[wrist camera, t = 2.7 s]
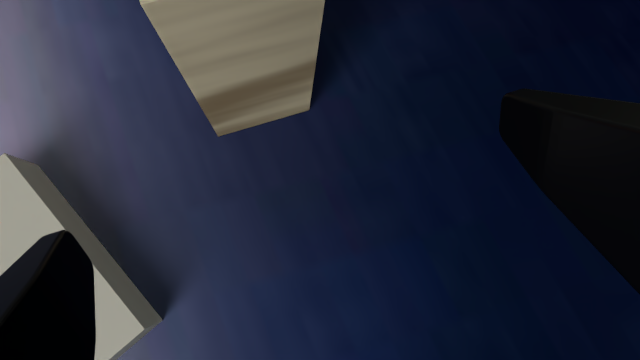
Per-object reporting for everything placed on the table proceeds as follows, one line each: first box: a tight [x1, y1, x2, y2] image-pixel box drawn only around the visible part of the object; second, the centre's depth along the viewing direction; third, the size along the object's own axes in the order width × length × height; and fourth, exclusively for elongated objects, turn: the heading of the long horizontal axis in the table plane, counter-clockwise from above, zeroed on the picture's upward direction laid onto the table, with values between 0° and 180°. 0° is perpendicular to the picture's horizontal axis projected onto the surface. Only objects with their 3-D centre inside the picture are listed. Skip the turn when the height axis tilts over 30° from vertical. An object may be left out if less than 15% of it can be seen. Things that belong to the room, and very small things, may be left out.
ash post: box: [140, 0, 325, 136], centre depth 17 cm, size 5×5×12 cm
